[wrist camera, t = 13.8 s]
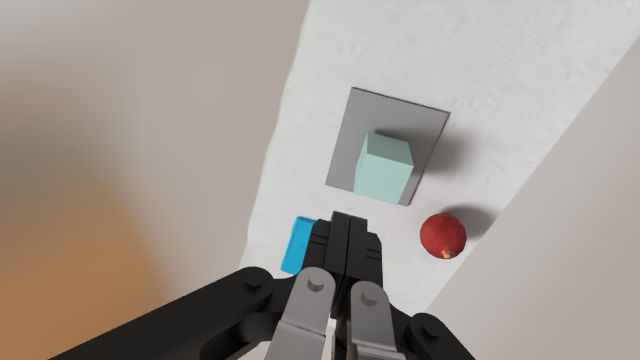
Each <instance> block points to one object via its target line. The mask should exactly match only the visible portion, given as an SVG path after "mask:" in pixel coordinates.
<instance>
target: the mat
mask: <svg viewBox="0 0 640 360" xmlns="http://www.w3.org/2000/svg"><path fill="white" fill-rule="evenodd" d="M447 115H448V113H447V112H443V111H439V110H435V109H432V108H428V107H424V106H420V105H416V104H413V103H409V102H405V101H401V100H398V99H394V98H390V97H386V96H382V95H379V94H375V93H371V92H367V91H364V90H360V89H356V88H351V91H350V95H349V99H348V102H347V106H346V110H345V113H344V117H343V121H342V124H341V128H340V132H339V135H338V139H337V143H336V146H335V150H334V153H333V157H332V161H331V164H330V168H329V172H328V175H327V179H326V183H325V185H328V186H332V187H335V188H339V189H343V190H347V191H350V192H354V182H355V172H356V165H357V162H358V159H359V156H360V153H361V150H362V147H363V144H364V141H365V138H366V135H367V132H371V133H375V134H379V135H382V136H386V137H390V138H394V139H397V140H401V141H405V142H408V144H409V148H410V152H411V157H412V161H413V165H414V167H413V169H412V172H411V174H410V176H409V179H408V181H407V183H406V186H405V188H404V190H403V193H402V195H401V197H400V200H399V202H398V204H399V205H403V206H406V207H407V206H408V204H409V201H410V199H411V197H412V194H413V192H414V190H415V188H416V185H417V183H418V181H419V179H420V176H421V174H422V172H423V170H424V167H425V165H426V163H427V161H428V158H429V156H430V154H431V152H432V149H433V147H434V145H435V142H436V140H437V138H438V136H439V133H440V131H441V129H442V127H443V124H444V122H445V120H446V118H447Z"/></svg>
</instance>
